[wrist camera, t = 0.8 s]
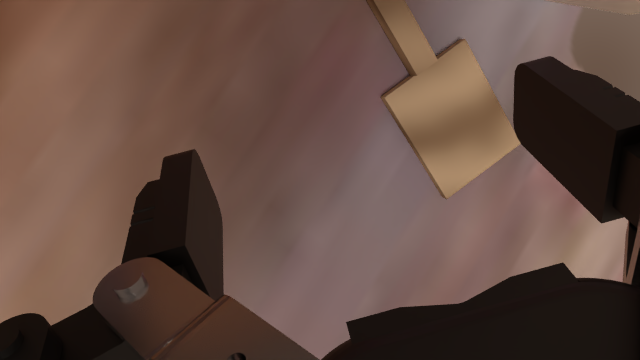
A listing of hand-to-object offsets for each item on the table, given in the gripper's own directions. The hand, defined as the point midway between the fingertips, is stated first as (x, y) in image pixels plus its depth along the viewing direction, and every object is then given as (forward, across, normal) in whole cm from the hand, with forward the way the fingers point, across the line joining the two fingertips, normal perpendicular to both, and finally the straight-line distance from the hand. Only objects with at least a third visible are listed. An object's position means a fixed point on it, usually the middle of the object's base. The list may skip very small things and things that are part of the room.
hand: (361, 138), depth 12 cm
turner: (+22, -8, +7) cm, 24 cm away
